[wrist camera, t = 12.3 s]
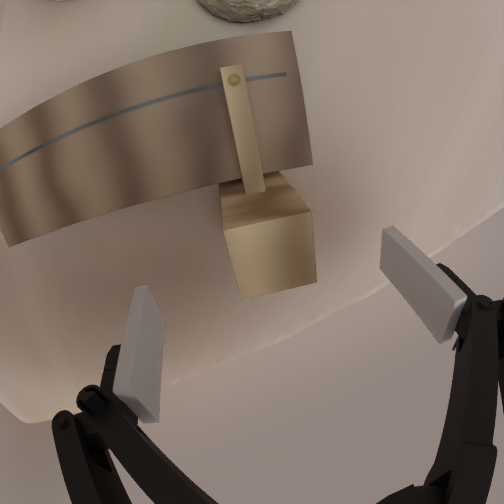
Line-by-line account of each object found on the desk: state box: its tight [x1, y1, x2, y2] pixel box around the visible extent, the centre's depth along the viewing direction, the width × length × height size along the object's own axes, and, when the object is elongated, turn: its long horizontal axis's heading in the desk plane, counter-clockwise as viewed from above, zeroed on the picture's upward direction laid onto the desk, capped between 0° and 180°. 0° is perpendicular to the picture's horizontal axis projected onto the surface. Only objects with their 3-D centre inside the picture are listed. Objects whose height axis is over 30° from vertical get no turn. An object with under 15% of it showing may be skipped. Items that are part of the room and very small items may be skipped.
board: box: [0, 31, 313, 247], centre depth 21 cm, size 30×11×3 cm, turn 100°
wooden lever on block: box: [219, 64, 317, 300], centre depth 20 cm, size 5×14×10 cm, turn 10°
